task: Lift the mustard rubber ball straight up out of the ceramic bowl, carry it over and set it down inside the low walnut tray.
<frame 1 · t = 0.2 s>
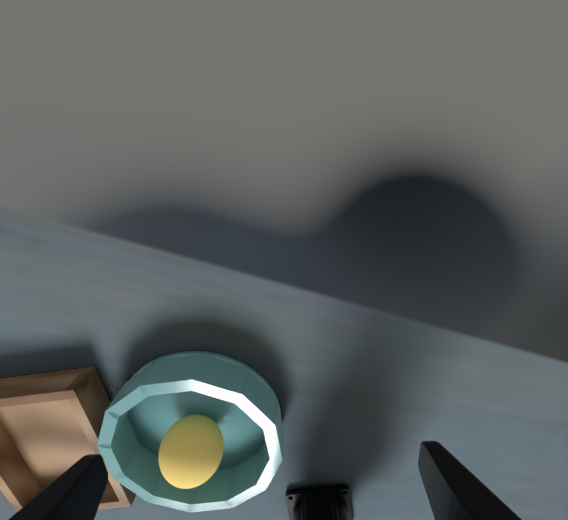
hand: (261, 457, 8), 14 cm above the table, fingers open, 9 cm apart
bowl: (202, 416, 26), on the table
tray: (65, 432, 27), on the table
ball: (192, 449, 23), point 3 cm above the table, touching bowl
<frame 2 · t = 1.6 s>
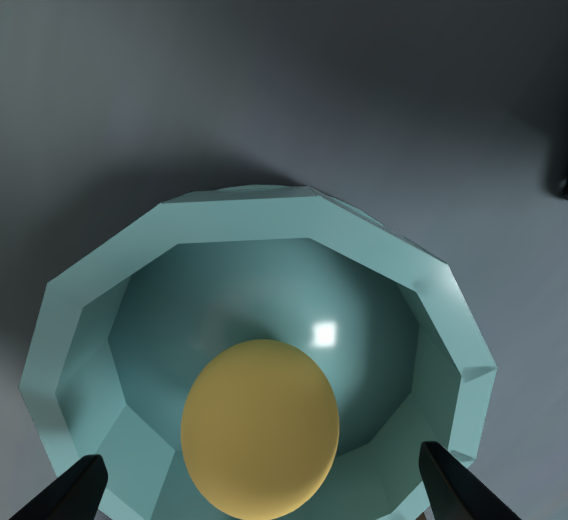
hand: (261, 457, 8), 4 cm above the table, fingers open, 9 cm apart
bowl: (266, 357, 12), on the table
ball: (261, 418, 9), point 3 cm above the table, touching bowl
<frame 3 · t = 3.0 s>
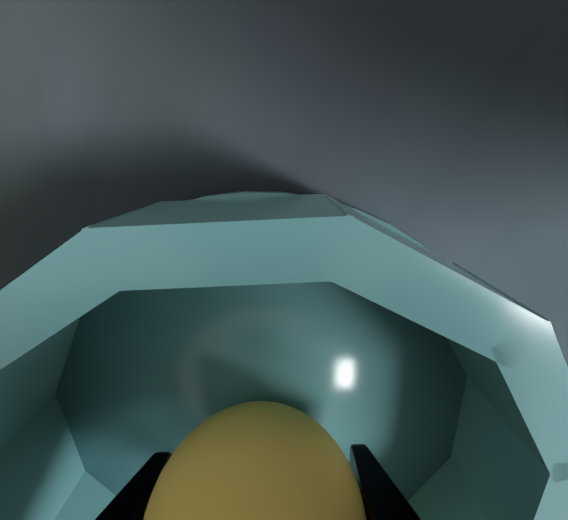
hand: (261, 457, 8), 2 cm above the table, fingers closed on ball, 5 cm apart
bowl: (264, 411, 10), on the table
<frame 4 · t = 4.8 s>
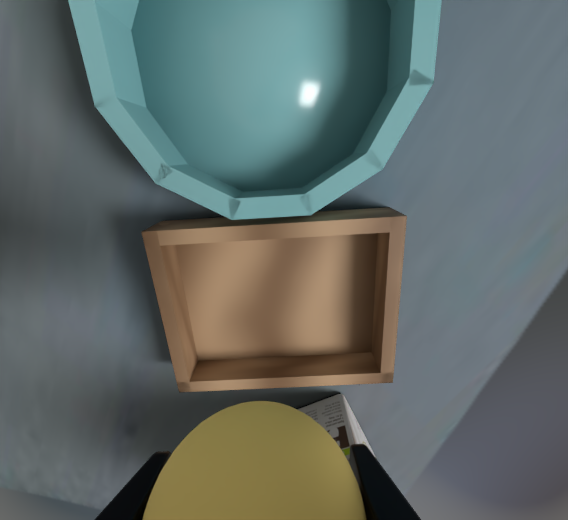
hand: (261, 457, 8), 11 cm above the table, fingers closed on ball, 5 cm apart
coffee box: (327, 441, 24), on the table
bowl: (263, 65, 15), on the table
tray: (280, 294, 19), on the table
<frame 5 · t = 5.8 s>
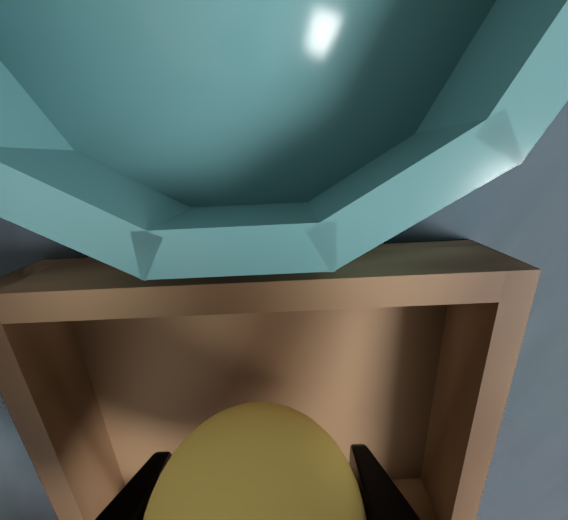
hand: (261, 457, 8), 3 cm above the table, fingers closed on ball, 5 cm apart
tray: (266, 384, 11), on the table
when the fingers open (2 cm above the table, at t = 6.6 s): ball stays where it is, resting on tray.
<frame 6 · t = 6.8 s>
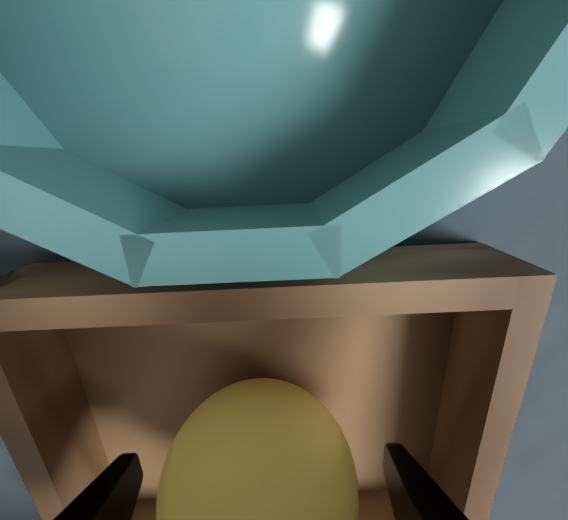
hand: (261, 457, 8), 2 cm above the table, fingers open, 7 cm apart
tray: (266, 391, 11), on the table
ball: (260, 480, 8), point 3 cm above the table, touching tray
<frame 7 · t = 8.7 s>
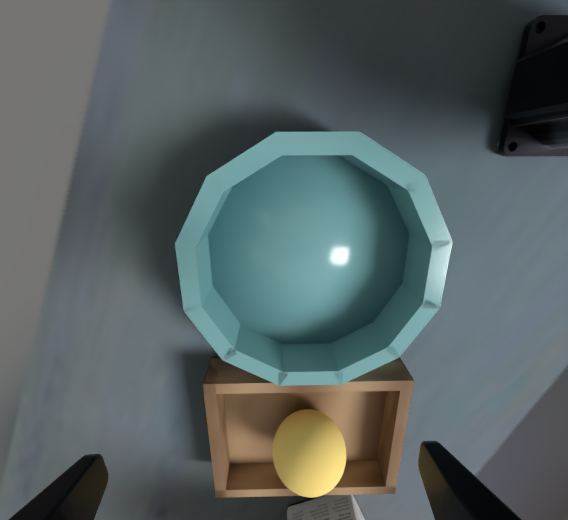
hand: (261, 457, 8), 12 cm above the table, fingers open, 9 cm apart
bowl: (307, 257, 19), on the table
tray: (304, 413, 23), on the table
ball: (308, 450, 20), point 3 cm above the table, touching tray
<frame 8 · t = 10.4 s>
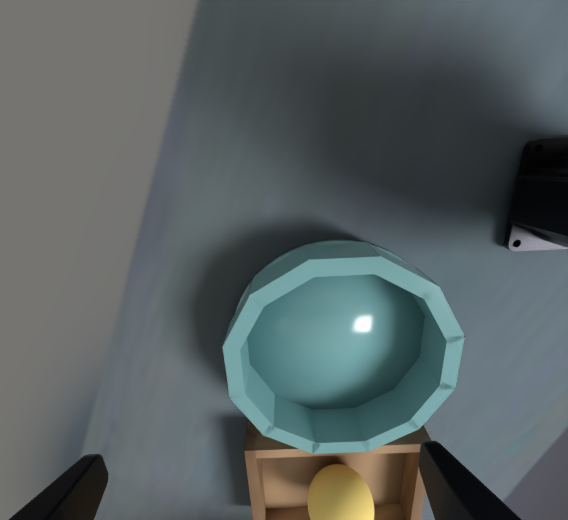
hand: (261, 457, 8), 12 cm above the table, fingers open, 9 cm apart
bowl: (333, 336, 21), on the table
tray: (332, 463, 25), on the table
ball: (340, 503, 22), point 3 cm above the table, touching tray
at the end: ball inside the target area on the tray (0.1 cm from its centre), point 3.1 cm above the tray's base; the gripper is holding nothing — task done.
